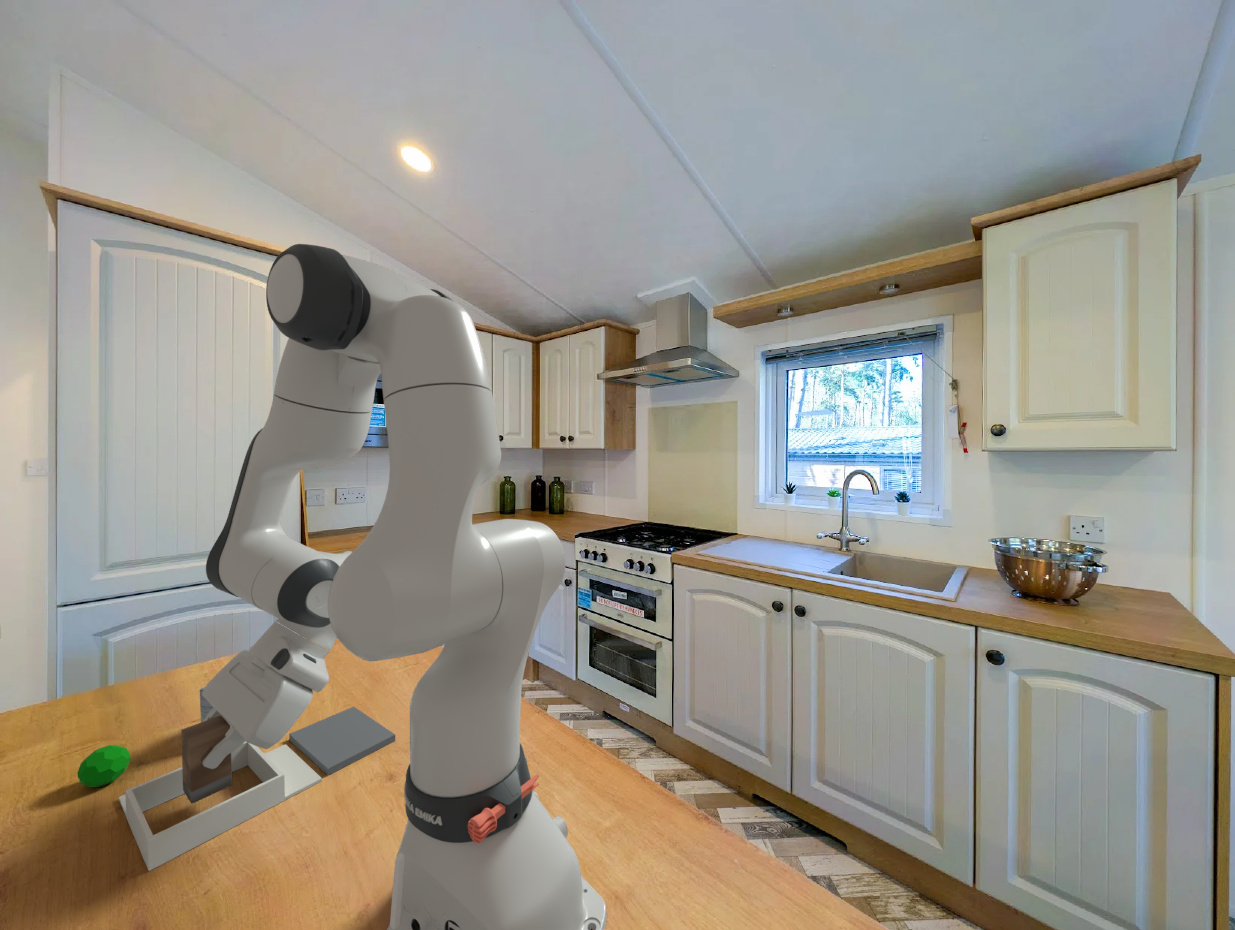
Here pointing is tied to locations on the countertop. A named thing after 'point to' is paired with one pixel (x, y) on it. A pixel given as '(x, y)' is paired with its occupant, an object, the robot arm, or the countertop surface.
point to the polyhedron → (104, 766)
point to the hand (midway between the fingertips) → (200, 757)
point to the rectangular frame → (280, 782)
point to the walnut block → (194, 746)
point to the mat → (341, 739)
